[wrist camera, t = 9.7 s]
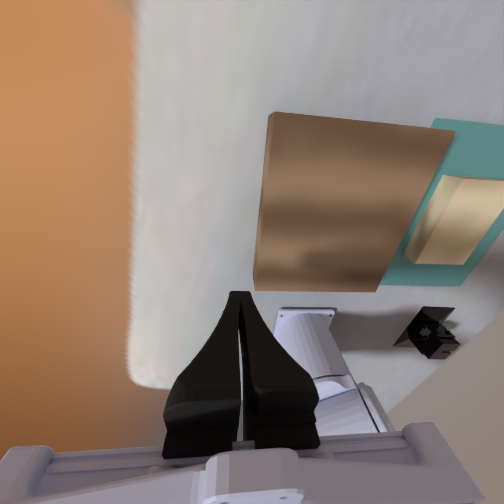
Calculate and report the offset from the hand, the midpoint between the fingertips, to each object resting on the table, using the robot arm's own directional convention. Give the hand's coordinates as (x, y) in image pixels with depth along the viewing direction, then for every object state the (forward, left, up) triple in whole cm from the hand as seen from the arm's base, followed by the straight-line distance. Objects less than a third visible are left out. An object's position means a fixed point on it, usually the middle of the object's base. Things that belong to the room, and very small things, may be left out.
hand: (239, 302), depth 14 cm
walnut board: (+4, -9, -9) cm, 13 cm away
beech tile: (+4, -23, -7) cm, 24 cm away
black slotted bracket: (-15, -30, -10) cm, 35 cm away
